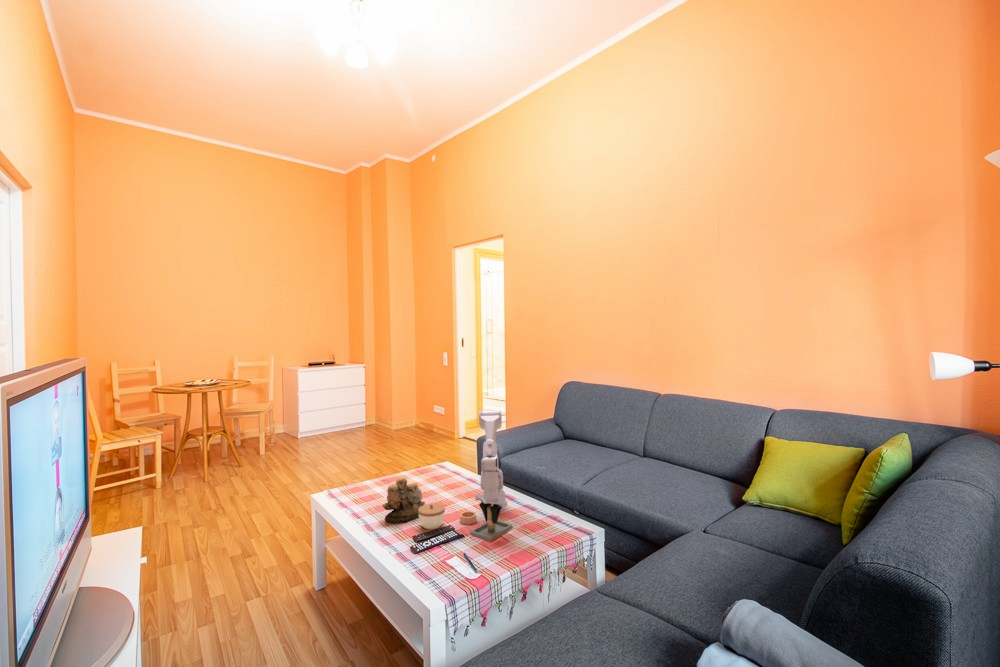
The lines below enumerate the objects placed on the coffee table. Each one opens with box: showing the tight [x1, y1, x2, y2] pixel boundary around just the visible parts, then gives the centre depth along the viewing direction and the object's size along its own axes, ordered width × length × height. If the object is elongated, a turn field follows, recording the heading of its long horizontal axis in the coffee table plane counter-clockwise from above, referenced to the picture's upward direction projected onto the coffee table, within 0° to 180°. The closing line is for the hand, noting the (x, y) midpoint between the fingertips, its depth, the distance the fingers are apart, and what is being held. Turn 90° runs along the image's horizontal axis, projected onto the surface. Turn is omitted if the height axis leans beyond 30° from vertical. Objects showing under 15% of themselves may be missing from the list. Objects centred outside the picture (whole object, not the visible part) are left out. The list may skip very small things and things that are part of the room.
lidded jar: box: [418, 502, 446, 530], centre depth 189 cm, size 11×11×9 cm
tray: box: [469, 519, 513, 542], centre depth 183 cm, size 14×10×2 cm
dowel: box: [487, 506, 495, 532], centre depth 183 cm, size 3×3×9 cm
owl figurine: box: [382, 477, 426, 525], centre depth 200 cm, size 18×12×17 cm, turn 118°
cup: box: [459, 510, 477, 525], centre depth 193 cm, size 7×7×3 cm
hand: (491, 521), depth 183 cm, fingers closed on dowel, 3 cm apart
